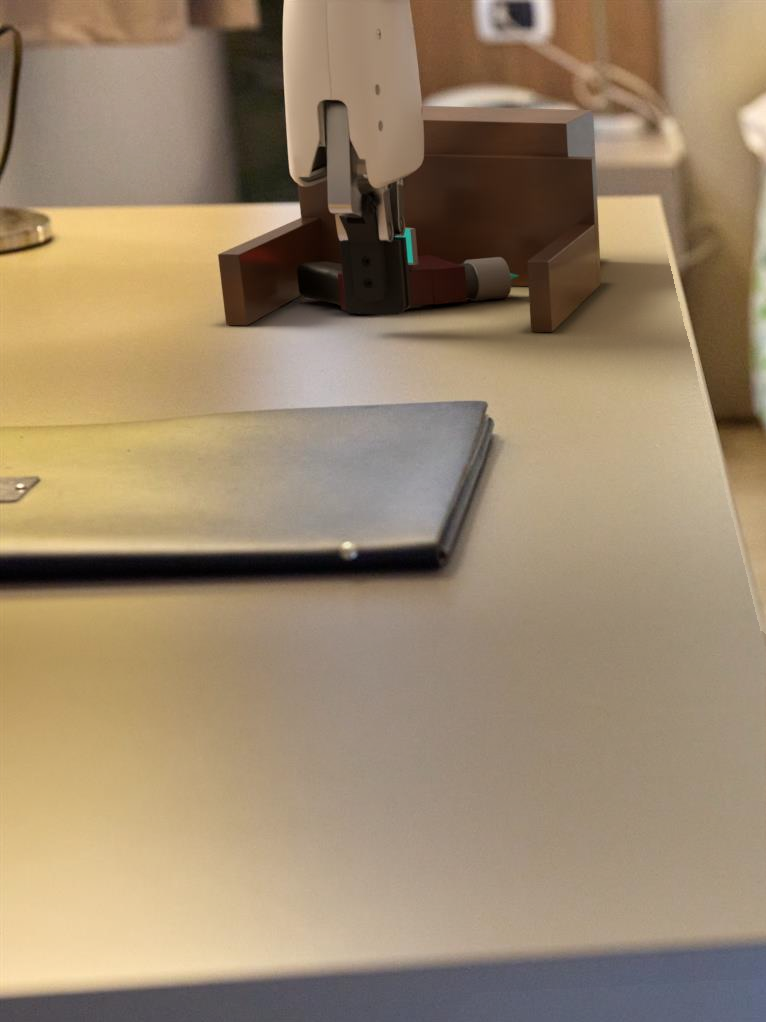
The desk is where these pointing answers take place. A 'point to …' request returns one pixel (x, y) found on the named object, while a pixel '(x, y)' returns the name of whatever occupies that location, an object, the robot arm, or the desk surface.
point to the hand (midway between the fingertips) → (379, 310)
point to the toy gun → (418, 278)
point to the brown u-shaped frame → (461, 212)
